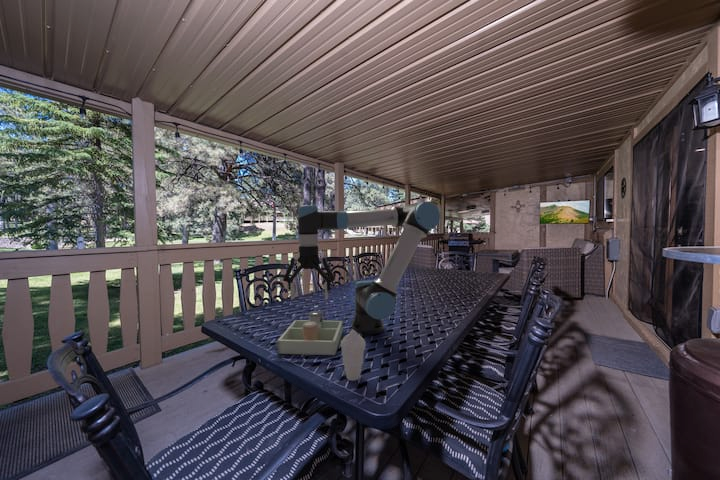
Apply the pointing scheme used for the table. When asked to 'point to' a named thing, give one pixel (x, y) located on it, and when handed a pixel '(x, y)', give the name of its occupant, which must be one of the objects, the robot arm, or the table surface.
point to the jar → (310, 331)
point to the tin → (316, 318)
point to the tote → (323, 346)
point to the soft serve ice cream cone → (353, 354)
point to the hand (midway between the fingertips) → (309, 298)
